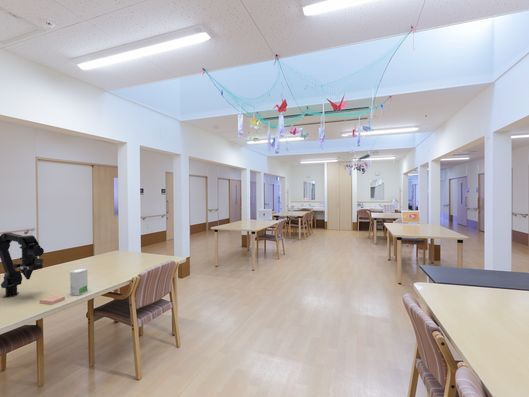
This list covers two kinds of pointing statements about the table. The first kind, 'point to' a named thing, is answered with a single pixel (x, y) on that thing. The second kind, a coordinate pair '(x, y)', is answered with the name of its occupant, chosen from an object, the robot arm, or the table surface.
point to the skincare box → (78, 282)
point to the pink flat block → (52, 299)
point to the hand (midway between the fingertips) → (28, 279)
